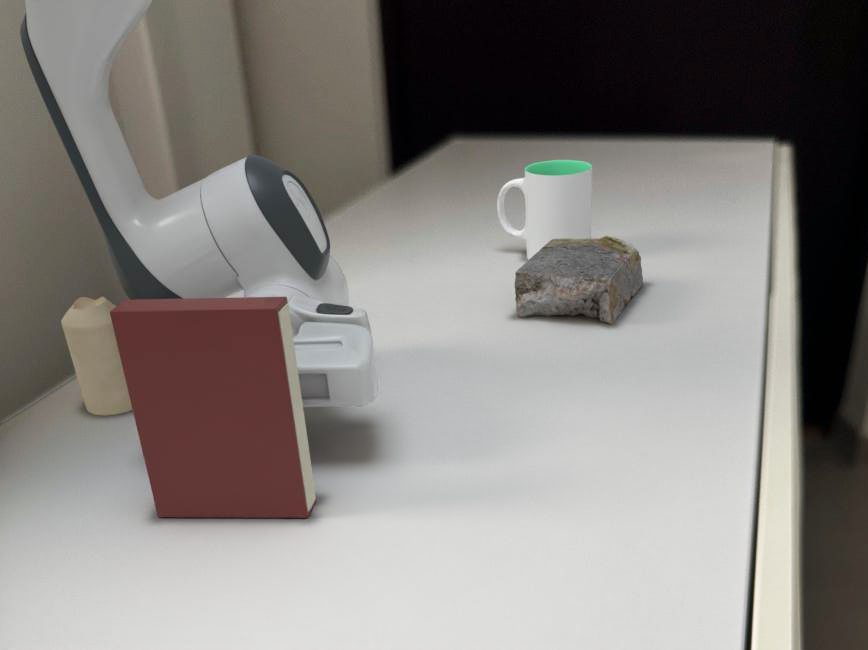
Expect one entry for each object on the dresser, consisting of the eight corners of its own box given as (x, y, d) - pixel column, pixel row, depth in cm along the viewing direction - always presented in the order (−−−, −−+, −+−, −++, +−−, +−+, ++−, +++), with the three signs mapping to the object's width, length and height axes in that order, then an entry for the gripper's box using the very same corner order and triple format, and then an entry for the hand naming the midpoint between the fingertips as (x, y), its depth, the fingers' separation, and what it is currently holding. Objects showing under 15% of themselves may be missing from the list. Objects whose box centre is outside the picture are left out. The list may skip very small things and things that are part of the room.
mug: (488, 262, 132) (484, 173, 126) (508, 244, 138) (505, 158, 132) (581, 267, 128) (582, 176, 122) (597, 248, 134) (599, 160, 128)
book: (157, 517, 82) (108, 311, 73) (170, 500, 85) (125, 299, 76) (308, 518, 81) (277, 308, 72) (317, 501, 83) (288, 296, 75)
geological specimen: (510, 274, 111) (555, 227, 122) (515, 330, 115) (557, 280, 125) (608, 278, 107) (645, 229, 118) (610, 335, 111) (645, 283, 122)
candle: (76, 405, 101) (46, 302, 96) (129, 388, 104) (102, 287, 98) (101, 421, 98) (71, 315, 92) (155, 403, 101) (129, 299, 95)
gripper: (150, 313, 90) (87, 375, 79) (384, 307, 88) (354, 371, 77) (167, 383, 94) (109, 452, 83) (392, 379, 92) (364, 449, 81)
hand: (229, 413), depth 80 cm, fingers closed, pressing on book
